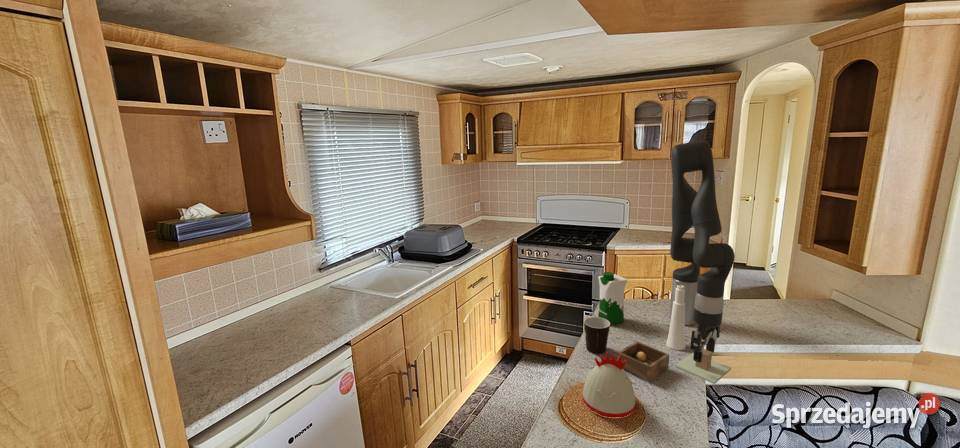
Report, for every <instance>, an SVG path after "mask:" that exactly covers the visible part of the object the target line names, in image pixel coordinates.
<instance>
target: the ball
mask: <svg viewBox="0 0 960 448" xmlns="http://www.w3.org/2000/svg"><path fill="white" fill-rule="evenodd" d="M636 358H637V359H638V360H639V361H645V360H646V355H645V353H643V352H638V353H637V354H636Z"/></svg>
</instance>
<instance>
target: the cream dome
mask: <svg viewBox="0 0 960 448" xmlns="http://www.w3.org/2000/svg"><path fill="white" fill-rule="evenodd" d="M615 356H616V355H615V353H614V352H612V355H611V358H610V354H609V351H607V350H606V355H605V358H604V355H603V353H602V354H600V356H599V357H600V361H599V360H598V358H597V357H596V356H595V357H594V361H595V364H596V365H595V366H594V367H593V368H592V369H591V370H590V372H589V373H588V375H587V378H586V380H585V382H584V385H583V388H582V394H581V395H582V397H583V399H582V402H583V401H584V403H585V404H586V405H587V407H589V408H590V409H591V410H592V411H594V412H596V413H598V414H600V415H602V416H607V417H624V416H627V415H629V414H631V413H632V412H633V411H634V412H635V410H636V395H635V391H634V387H633V382H632V381H631V379H630V377H629V375H628V372H626V371H624V370H623V369H622V368H623V367H624V366H625V364H626V362H627V359H626V360H625V361H624V362H621V354H620V356H619V358H618V360H617V359H616V357H615ZM584 403H583V404H584ZM587 407H586V408H587ZM634 409H635V410H634ZM634 412H633V413H634ZM631 415H632V414H631Z"/></svg>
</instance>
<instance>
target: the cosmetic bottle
mask: <svg viewBox="0 0 960 448" xmlns="http://www.w3.org/2000/svg"><path fill="white" fill-rule="evenodd" d="M684 295H685V289H684V286H682V285H677V288H676V291H675V301H674V302H673V307H672V315H671V320H670V324H669V330H668V336H667V338H666V339H667V340H666V342H665V345H666V346H667V347H668V348H669V349H671V350H675V351H683V350H686V348H687V346H686V337H685V336H686V334H685V326H686V325H685V303H684Z"/></svg>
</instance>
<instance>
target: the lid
mask: <svg viewBox="0 0 960 448" xmlns="http://www.w3.org/2000/svg"><path fill="white" fill-rule="evenodd" d="M693 356H694V352H691V353H690V354H689V355H687V356H686V357H684V358H683V359H681V360H680V361H679V362H677V363H676V364H675V365H674V367H675V368H676V369H678V370H681V371H683V372H686V373H688V374H689V375H692V376H694V377H697V378H698V379H701V380H703V381H706V382H708V383H711V384H713V385H715V384H716V383H718V382H719V381H720V380H721V379H722V378H723V377H724V376H726V375H727V374H728V373H729V372H730V371H731V370H732V367H731V366H728V365H725V364H723V363H721V362H718V361H715V360H713V358H712V356H713V353H712V352H710V351H708V350H706V348H703V354H702V362H700V363H699V362H696V361H694V360H693Z"/></svg>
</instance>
